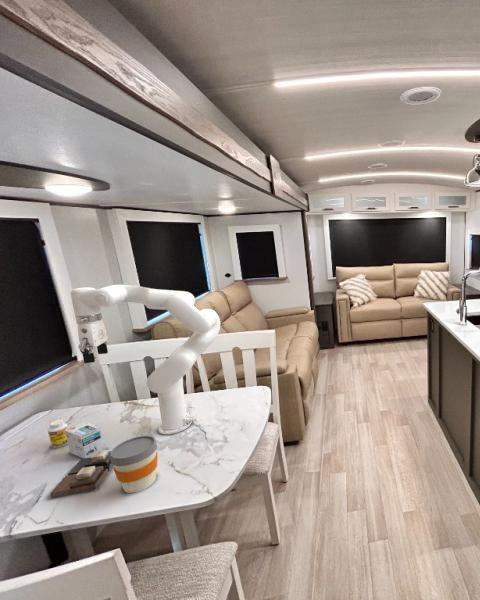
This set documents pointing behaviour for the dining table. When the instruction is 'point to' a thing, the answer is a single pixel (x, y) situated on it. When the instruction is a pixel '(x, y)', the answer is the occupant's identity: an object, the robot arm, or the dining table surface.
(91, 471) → the key
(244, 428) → the dining table surface
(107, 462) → the key block
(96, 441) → the light bulb box
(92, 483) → the key block
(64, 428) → the supplement bottle
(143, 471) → the reusable coffee cup
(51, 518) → the dining table surface
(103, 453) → the key
